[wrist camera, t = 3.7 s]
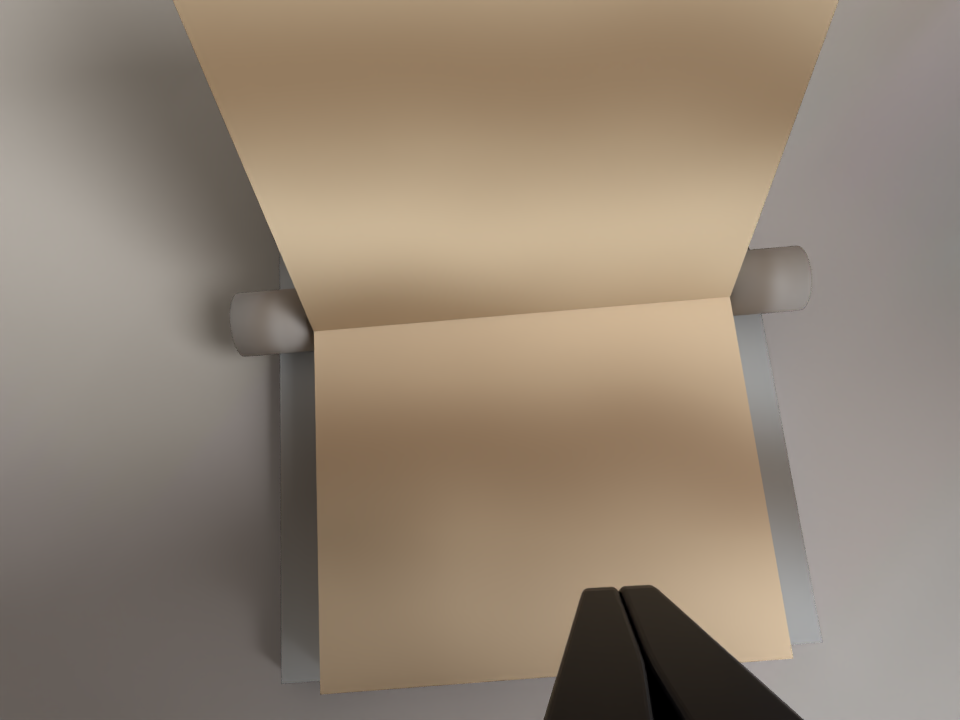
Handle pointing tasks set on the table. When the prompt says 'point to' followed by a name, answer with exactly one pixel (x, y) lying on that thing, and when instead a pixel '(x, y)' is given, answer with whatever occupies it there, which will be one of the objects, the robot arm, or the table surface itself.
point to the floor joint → (529, 481)
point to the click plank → (507, 145)
